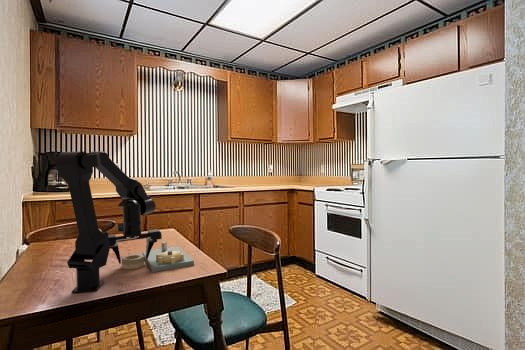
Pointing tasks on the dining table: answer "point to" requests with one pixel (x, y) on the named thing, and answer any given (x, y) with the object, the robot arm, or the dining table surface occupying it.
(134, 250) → the dining table surface
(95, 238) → the robot arm
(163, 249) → the peg
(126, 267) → the beige thick ring
